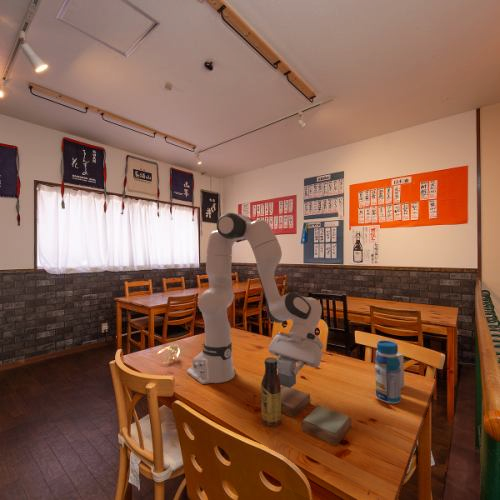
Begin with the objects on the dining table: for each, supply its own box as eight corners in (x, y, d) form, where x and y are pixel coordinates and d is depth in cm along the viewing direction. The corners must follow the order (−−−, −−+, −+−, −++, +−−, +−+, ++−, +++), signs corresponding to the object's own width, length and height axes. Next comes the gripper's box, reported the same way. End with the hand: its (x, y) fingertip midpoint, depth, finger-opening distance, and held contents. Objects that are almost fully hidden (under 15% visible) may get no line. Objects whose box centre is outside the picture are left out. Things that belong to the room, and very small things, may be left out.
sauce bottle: (260, 416, 90) (259, 355, 90) (279, 415, 91) (278, 354, 91) (263, 428, 84) (262, 363, 84) (283, 427, 84) (282, 362, 84)
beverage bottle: (400, 407, 94) (399, 348, 94) (373, 400, 99) (372, 344, 99) (402, 396, 101) (401, 341, 101) (377, 390, 106) (376, 338, 106)
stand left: (266, 405, 96) (266, 397, 96) (284, 393, 105) (284, 385, 105) (294, 417, 89) (293, 408, 89) (310, 403, 98) (310, 394, 98)
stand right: (301, 429, 83) (301, 419, 83) (318, 413, 91) (317, 404, 91) (336, 446, 76) (336, 435, 76) (351, 426, 84) (351, 416, 84)
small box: (404, 387, 107) (404, 354, 108) (393, 391, 105) (393, 357, 105) (386, 379, 115) (385, 348, 115) (375, 382, 112) (375, 350, 112)
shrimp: (155, 370, 133) (151, 355, 130) (170, 348, 147) (167, 334, 144) (177, 372, 131) (173, 357, 127) (190, 350, 144) (187, 336, 141)
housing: (277, 383, 97) (277, 360, 97) (283, 379, 100) (284, 357, 100) (289, 388, 94) (289, 364, 94) (295, 383, 97) (295, 361, 97)
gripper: (274, 327, 109) (258, 359, 102) (322, 337, 96) (308, 375, 88) (280, 335, 113) (265, 367, 105) (327, 347, 99) (315, 384, 92)
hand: (285, 371), depth 97 cm, fingers closed on housing, 5 cm apart
